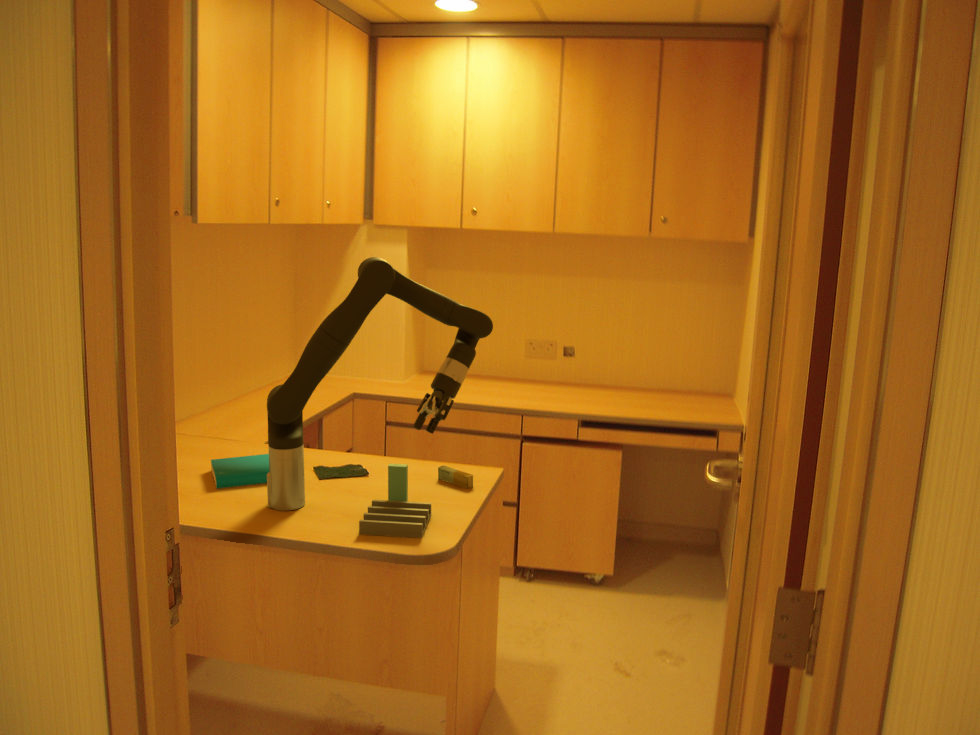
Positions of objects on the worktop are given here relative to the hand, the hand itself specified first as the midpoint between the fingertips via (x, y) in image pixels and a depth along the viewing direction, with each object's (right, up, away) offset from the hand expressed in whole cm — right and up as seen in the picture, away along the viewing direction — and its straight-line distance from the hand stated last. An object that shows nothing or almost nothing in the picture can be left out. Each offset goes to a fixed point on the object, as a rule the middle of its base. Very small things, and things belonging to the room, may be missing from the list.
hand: (422, 430), depth 224 cm
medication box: (+8, -18, +23) cm, 30 cm away
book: (-52, -16, +26) cm, 60 cm away
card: (-7, -21, +4) cm, 23 cm away
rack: (-6, -24, -8) cm, 26 cm away
